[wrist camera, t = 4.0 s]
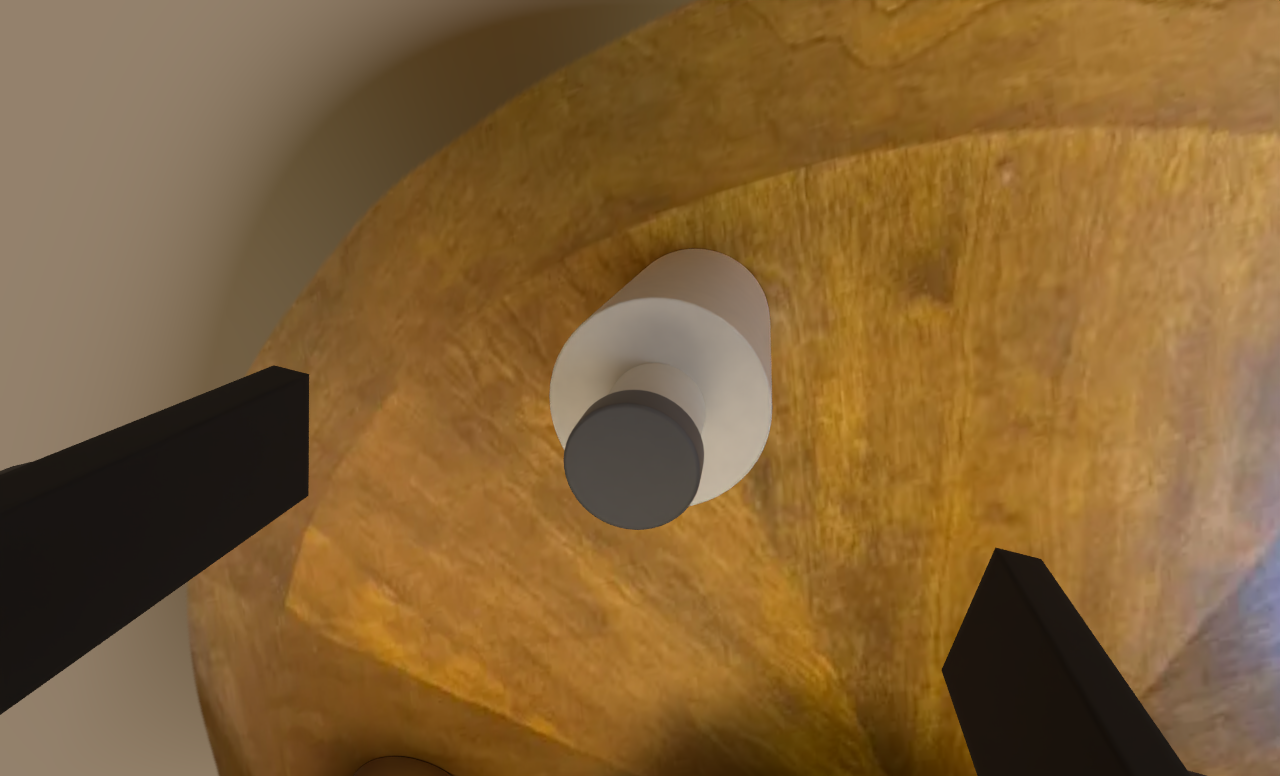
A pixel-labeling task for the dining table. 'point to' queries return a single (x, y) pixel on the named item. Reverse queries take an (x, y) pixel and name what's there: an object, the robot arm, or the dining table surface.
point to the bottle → (665, 390)
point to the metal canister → (399, 768)
